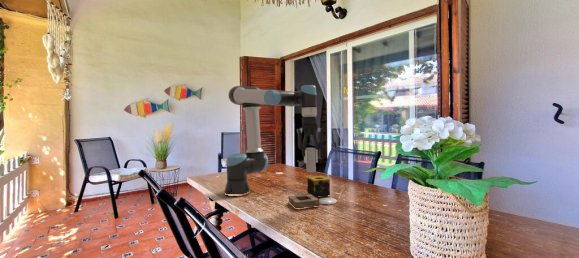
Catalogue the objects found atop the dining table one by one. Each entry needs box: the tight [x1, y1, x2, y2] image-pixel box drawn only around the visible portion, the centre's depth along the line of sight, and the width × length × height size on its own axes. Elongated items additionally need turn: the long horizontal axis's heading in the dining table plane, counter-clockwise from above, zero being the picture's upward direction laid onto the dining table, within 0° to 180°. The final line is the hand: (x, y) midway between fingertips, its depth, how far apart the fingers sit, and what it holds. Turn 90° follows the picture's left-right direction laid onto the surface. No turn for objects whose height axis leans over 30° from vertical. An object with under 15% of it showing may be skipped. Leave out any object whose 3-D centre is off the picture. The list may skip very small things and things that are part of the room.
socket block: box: [288, 193, 320, 209], centre depth 136 cm, size 12×12×4 cm
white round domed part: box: [318, 197, 338, 205], centre depth 140 cm, size 10×10×1 cm
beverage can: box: [305, 147, 317, 174], centre depth 136 cm, size 5×5×12 cm
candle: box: [306, 175, 331, 197], centre depth 153 cm, size 10×10×10 cm
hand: (310, 162), depth 136 cm, fingers closed on beverage can, 5 cm apart
